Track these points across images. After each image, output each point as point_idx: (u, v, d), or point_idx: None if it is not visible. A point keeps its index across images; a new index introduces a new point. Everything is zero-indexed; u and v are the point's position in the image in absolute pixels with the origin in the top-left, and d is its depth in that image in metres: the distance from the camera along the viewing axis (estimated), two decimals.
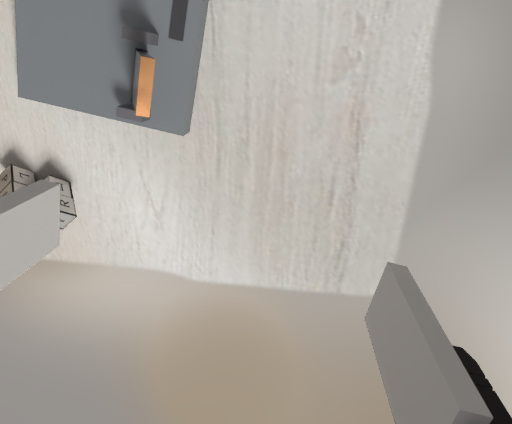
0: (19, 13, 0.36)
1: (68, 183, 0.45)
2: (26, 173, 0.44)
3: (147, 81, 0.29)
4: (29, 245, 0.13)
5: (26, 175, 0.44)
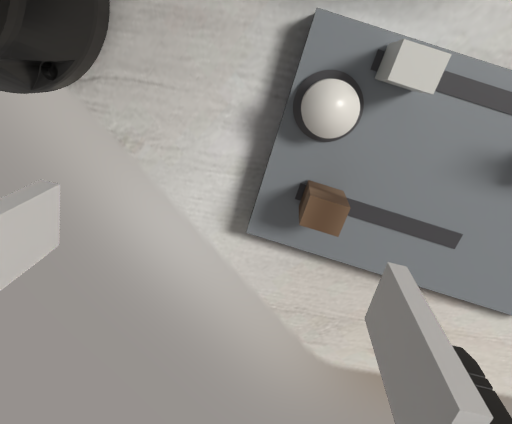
0: (464, 296, 0.32)
1: None
2: None
3: None
4: (29, 245, 0.13)
5: None
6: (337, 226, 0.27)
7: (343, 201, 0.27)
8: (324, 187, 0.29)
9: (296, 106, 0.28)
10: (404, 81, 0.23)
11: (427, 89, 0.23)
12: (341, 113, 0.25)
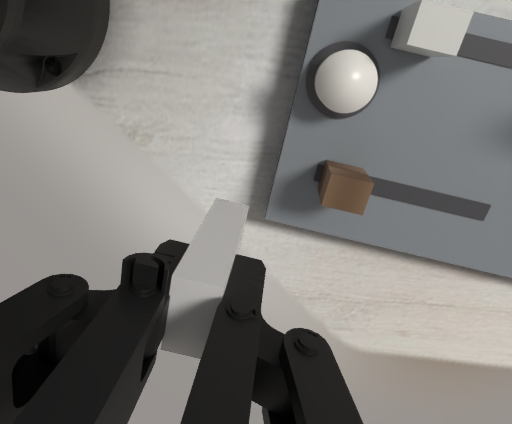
0: (495, 269, 0.31)
1: None
2: None
3: None
4: None
5: None
6: (361, 204, 0.26)
7: (365, 177, 0.26)
8: (344, 166, 0.28)
9: (309, 83, 0.27)
10: (425, 45, 0.22)
11: (449, 51, 0.22)
12: (358, 85, 0.24)
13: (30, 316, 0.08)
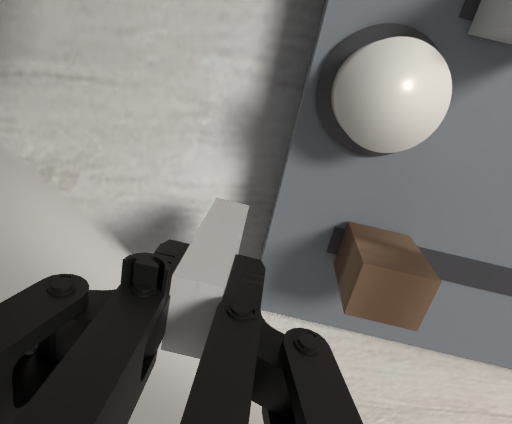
0: None
1: None
2: None
3: None
4: None
5: None
6: (415, 314, 0.14)
7: (421, 263, 0.15)
8: (379, 235, 0.17)
9: (322, 97, 0.15)
10: None
11: None
12: (414, 104, 0.13)
13: (30, 316, 0.08)
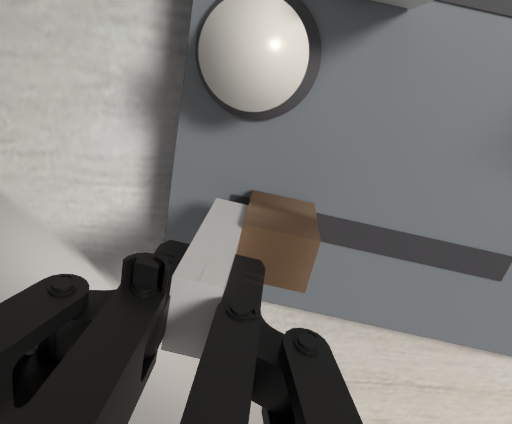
0: None
1: None
2: None
3: None
4: None
5: None
6: (300, 275, 0.14)
7: (309, 226, 0.15)
8: (279, 202, 0.17)
9: None
10: None
11: None
12: (274, 60, 0.13)
13: (30, 316, 0.08)
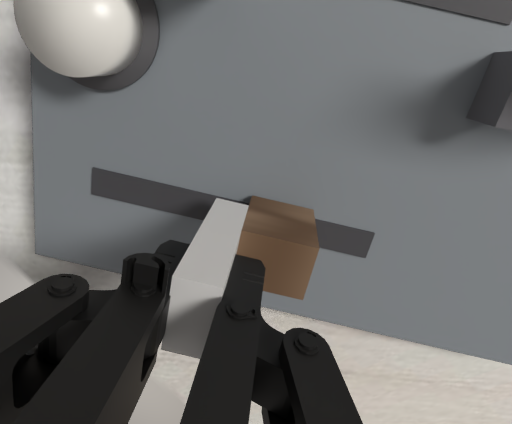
0: (394, 331, 0.20)
1: None
2: None
3: None
4: None
5: None
6: (299, 282, 0.14)
7: (308, 233, 0.15)
8: (278, 208, 0.17)
9: None
10: None
11: None
12: (89, 24, 0.13)
13: (30, 316, 0.08)
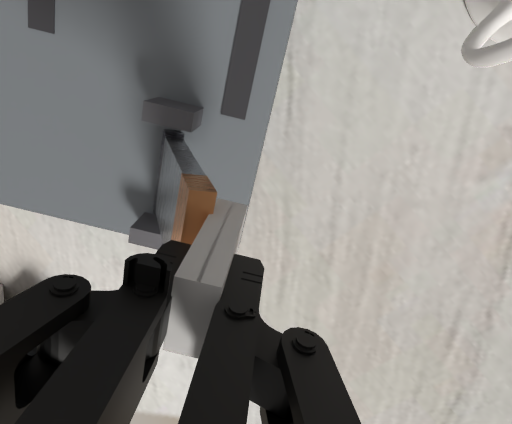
0: None
1: None
2: None
3: (198, 232, 0.15)
4: None
5: None
6: None
7: None
8: None
9: None
10: None
11: None
12: None
13: (32, 316, 0.08)
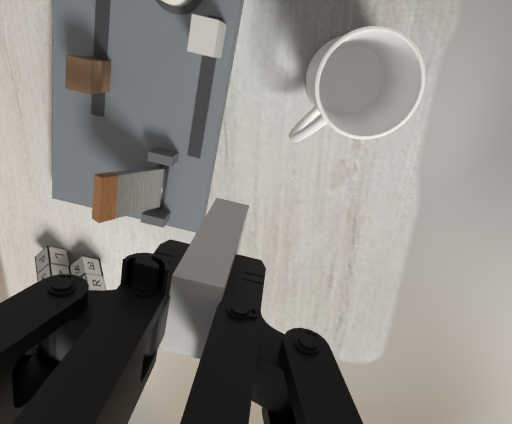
0: (56, 132, 0.41)
1: (98, 260, 0.49)
2: (60, 252, 0.48)
3: (97, 194, 0.35)
4: None
5: (60, 255, 0.48)
6: (73, 86, 0.35)
7: (96, 89, 0.36)
8: (106, 75, 0.37)
9: None
10: (192, 27, 0.32)
11: (189, 46, 0.32)
12: None
13: (30, 316, 0.08)
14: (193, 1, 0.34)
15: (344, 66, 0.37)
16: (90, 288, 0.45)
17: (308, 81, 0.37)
